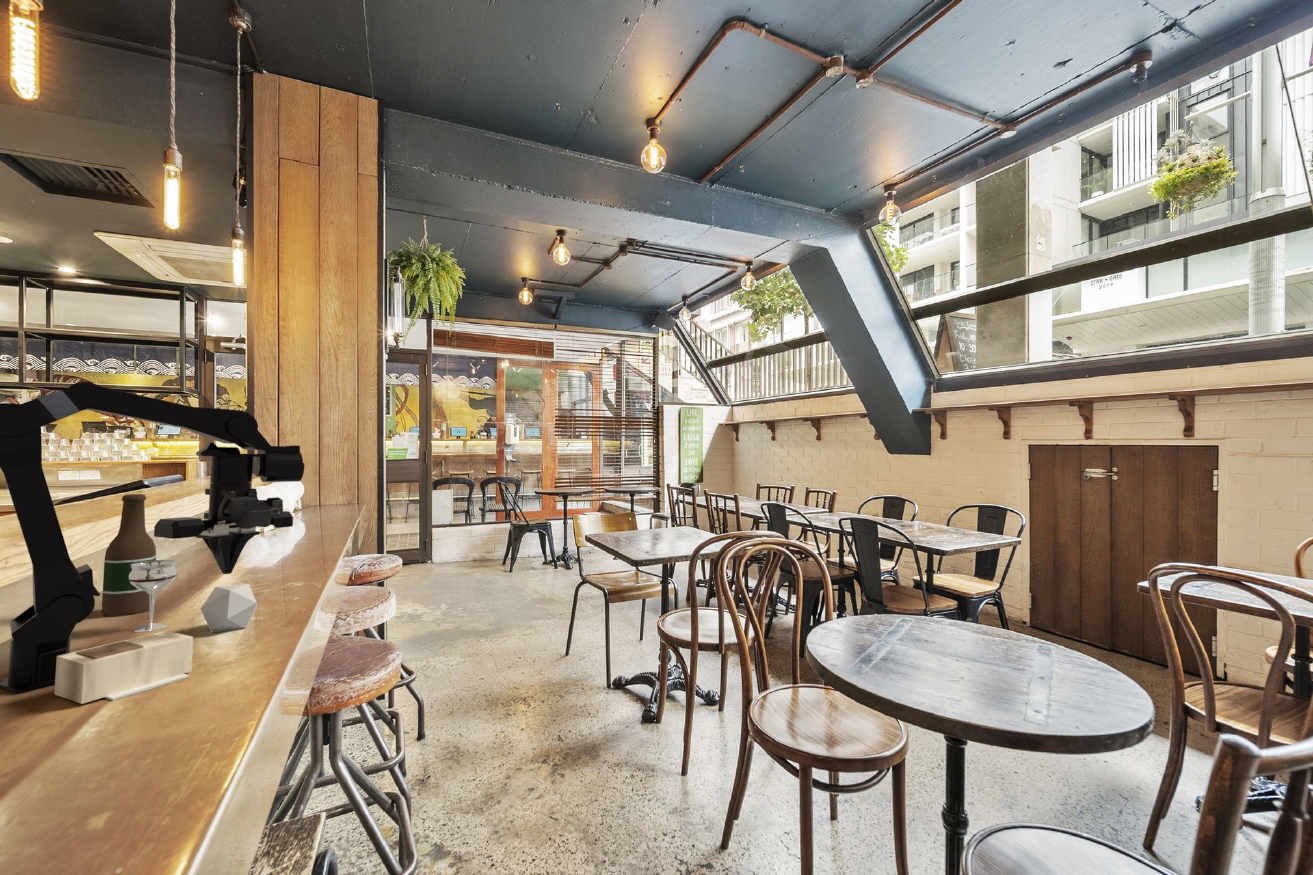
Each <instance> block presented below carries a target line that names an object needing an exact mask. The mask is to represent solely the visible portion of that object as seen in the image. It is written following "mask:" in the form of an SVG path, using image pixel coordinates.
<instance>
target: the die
mask: <svg viewBox="0 0 1313 875" xmlns="http://www.w3.org/2000/svg"><path fill="white" fill-rule="evenodd" d="M250 585H251V584H249V583H245V584H237V585H236V584H234V585H220V586H215V587H214V589H212V592H211V593H210V594H209V596H208V597H207V599H206V600H205V601H204V603H203V605H202V606H201V607H200V610H201V613H202V615H203V617H204V620H205V622H206V624H207V627H208V628H209V631H210V633H217V632H225V631H232V630H241V629H247V627H248V625H249V623H250V621H251V619H252V618H253V617H254V614H256V611H257V610H258V607H259V605H258V601H257V600H256V597H255V595H254V593H253V590H252V588H251V586H250Z"/></svg>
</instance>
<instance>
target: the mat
mask: <svg viewBox="0 0 1313 875" xmlns="http://www.w3.org/2000/svg"><path fill="white" fill-rule="evenodd" d="M188 678H190V674H187V673H183V674H180V675H177V676H173V677H170V678H167V679H163V680H160V681H157V682H153V683H150V684H147V685H143V686H140V687H137V688H133V689H130V690H127V691H123V692H120V693H117V694H113V695H110V696H107V697H103V698H104V699H106V700H110V701H112V702H113V701H117V700H120V699H124V698H127V697H129V696H133V695H137V694H140V693H143V692H145V691H149V690H152V689H155V688H160V687H163V686H165V685H169V684H173V683H176V682H179V681H183V680H184V679H185V680H186V679H188Z"/></svg>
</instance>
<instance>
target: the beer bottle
mask: <svg viewBox="0 0 1313 875" xmlns="http://www.w3.org/2000/svg"><path fill="white" fill-rule="evenodd" d="M146 500H147V496H146V494H142V493H133V494H132V493H129V494H124V495H122V498H121V502H122V508H121V509H122V510H121V516H120V517H121V518H120V523H119V524H120V525H119V530H118V533H117V535H116V536H115V537H114V538H113V539H112V540H111V541H110V542H109V545H108V546H107V548H106V550H105V554H104V555H105V556H104V561H103V562H104V563H103V581H102V595H101V596H102V597H101V614H102V615H103V616H104V615H108V616H107V617H113V616H114V617H122V615H124V616H133V615H136V614H141V613H145V612H148V610H149V611H150V594H148V593H147V591H143V590H139V589H137V588H136V587H134V586H133V585H131V583H130V581H129V573H130V572H131V570H132V568H131V566H130V564H133V563H138V562H144V561H154V560H157V549H156V548H157V546H156V545H155V542H154V540H153V538H152V537H151V536H150V535H149V534H148V532H147V528H146V514H145V510H146V509H145V501H146Z"/></svg>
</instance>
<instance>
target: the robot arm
mask: <svg viewBox="0 0 1313 875" xmlns="http://www.w3.org/2000/svg"><path fill="white" fill-rule="evenodd" d="M84 411H92V412H93V411H94V412H98V413H104V414H108V415H113V416H118V417H122V418H123V417H124V418H128V419H135V420H139V421H144V422H149V423H153V424H159V425H162V426H163V425H164V426H169V427H173V428H178V429H183V430H186V431H188V432H190V433H191V432H192V433H194V434H196V435H198V436H199V435H200V436H201V437H204V438H208V439H210V440H213V441H215V442H218V443H222V444H229V445H235V446H237V447H235V446H234V447H233V446H232V447H231V446H223V447H222V446H218V445H216V444H215V442H207V444H206V445H205V446H204V447H202V448H201V449H200V450H198V451H196V452H195V455H196V456H197V457H210V458H211V459H210V474H209V476H210V479H209V488H205V489H204V495H207V496H209V498H208V499H209V500H208V501H209V502H208V512H204V513H203V519H202V518H200V517H186V516H183V517H181V516H180V517H170V518H160V519H159V520H158V521H156V523H155V524H154V529H153V531H154V532H153V537H156V538H165V539H173V540H174V539H186V538H195V539H196V538H197V539H202V540H203V542H204V544H206V546H207V548H208V549H209V550H210V552H211V554H212V555H213V558H214V559H215V561H216V563H217V565H218V567H219V569H220V571H221V573H222V574H223V575H230V574H232V573H233V570H234V568H235V567H236V564H237V562H238V560H239V558H240V556H241V554H242V552H243V550H244V548H245V546H246V545H247V543H248V542H249V541H250V540H251V539H252V538H253V537H254V536H259V535H260V534H261V531H260V530H259V531H256V530H257V529H256V528H258V527H262V528H268V527H270V526H271V525H272V526H273V527H274V528H276V529H281V528H289V527H293V526H294V517H293V514H292V513H291V512H290V511H288V510H287V511H286V510H284V500H283V499H282V498H280V497H277V496H276V497H268V498H266V499H259V498H258V491H257V488H252V485H253V483H252V482H253V474H254V476H255V477H259V478H260V480H261V482H262V483H285V482H287V483H288V482H290V483H291V482H293V483H294V482H297V483H298V482H301V481H302V478H303V477H304V472H305V462H304V458H303V455H302V453H301V446H300V445H295V444H294V445H293V444H292V445H285V446H284V445H271V444H270V443H269V441H268V440H267V439H266V438H265V437H264V436H263V435H262V433H261V432H260V430H259V424H258V421H257V419H256V418H255V416H254V415H253V414H251V413H250V412H248V411H245V410H239V409H229V408H218V407H215V408H214V407H200V406H199V407H198V406H191V405H186V404H181V403H178V402H173V401H168V400H164V399H159V398H156V397H155V398H154V397H150V396H145V395H141V394H137V393H133V392H132V393H131V392H128V391H123V390H119V389H115V388H109V387H105V386H101V385H98V384H96V383H94V382H91V381H79V382H78V381H77V382H75V383H72V384H71V385H69V386H68V387H66V388H64V389H61V390H57V391H55V392H51V393H48V394H46V395H43V396H39V397H37V398H34V399H32V400H29V401H26V402H23V403H21V404H19V403H13V402H1V403H0V470H1V472H2V474H3V476H4V479H5V482H6V485H7V489H8V491H9V495H10V498H11V502H12V506H13V507H14V511H15V514H16V516H17V520H18V523H19V527H20V529H21V532H22V535H23V539H24V543H25V545H26V548H27V551H28V555H29V558H30V560H31V564H32V566H31V567H32V597H33V598H32V601H33V602H32V605H31V606H29V607H28V608H26V609H24V611H23V612H21V613H20V614H19V615H17V616H16V617H14V618H13V619H11V621H10V624H9V626H10V634H11V635H10V636H11V638H12V640H10V643H9V645H10V646H9V659H8V660H9V661H8V673H7V674H8V675H7V678H5V679H0V688H1V689H4V690H5V691H9V692H11V693H14V694H17V693H22V692H25V691H29V690H34V689H37V688H41V687H45V686H48V685H52V684H55V677H56V661H57V656H59V655H63V654H68V653H71V641H72V640H71V639H72V632H73V631H74V629H75V627H76V626H77V624H80V623H81V622H83V621H84V620H85V619H87V618H88V617H89V616H90V614H91V613H92V612H93V611H94V610H95V607H96V602H95V600H96V599H95V597H100V596H101V593H100V592H99V591H98V589H97V588H96V587H95V585H94V573H93V569H92V568H91V567H90V565H89V564H88V563H87V564H86V563H85V564H83V565H81V566H78V567H76V566H75V564H74V563H73V560H71V558H70V555H69V551H68V548H67V545H66V541H65V538H64V535H63V532H62V528H61V524H60V521H59V519H58V515H57V511H56V508H55V506H54V502H53V498H52V495H51V492H50V489H49V487H48V483H47V480H46V477H45V476H46V475H45V473H44V469H43V461H42V460H43V441H42V440H43V439H42V427H45V426H47V425H49V424H52V423H55V422H58V421H60V420H62V419H66V418H67V417H70V416H72V415H75V414H77V413H79V412H84ZM239 448H241V449H243V450H246V451H247V450H248V451H250V450H251V451H252V450H253V451H255V450H256V451H257V453H242V452H241V450H240V449H239Z"/></svg>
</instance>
